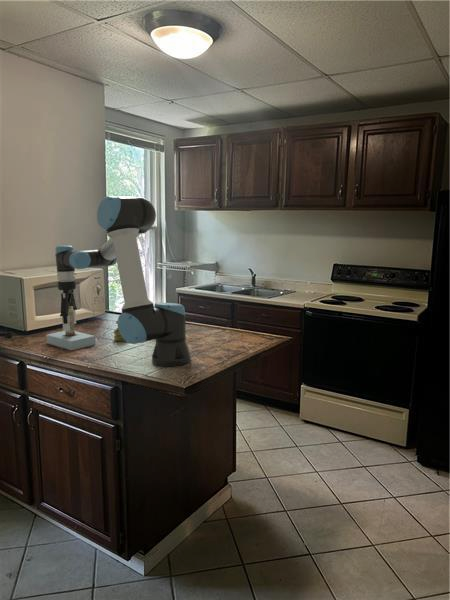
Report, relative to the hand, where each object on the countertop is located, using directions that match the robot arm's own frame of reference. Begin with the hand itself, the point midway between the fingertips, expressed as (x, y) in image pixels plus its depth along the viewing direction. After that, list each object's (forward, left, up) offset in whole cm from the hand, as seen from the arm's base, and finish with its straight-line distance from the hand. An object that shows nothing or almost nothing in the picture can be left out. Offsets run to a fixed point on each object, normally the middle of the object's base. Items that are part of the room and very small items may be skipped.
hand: (69, 327), depth 201 cm
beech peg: (0, 0, -7) cm, 7 cm away
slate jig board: (0, 0, -8) cm, 8 cm away
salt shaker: (+11, -20, -8) cm, 24 cm away
